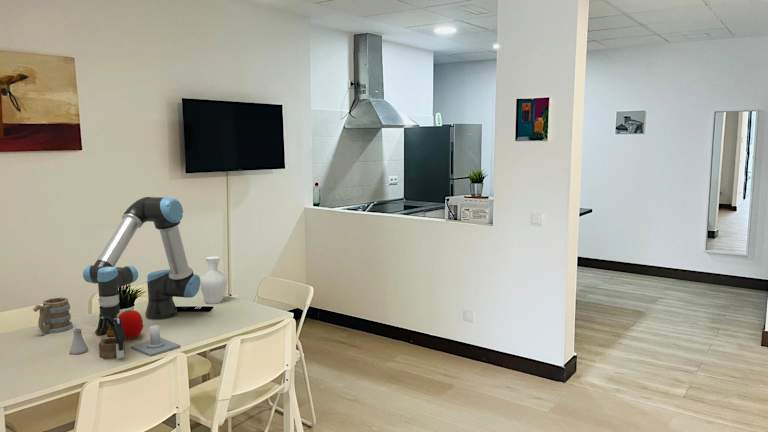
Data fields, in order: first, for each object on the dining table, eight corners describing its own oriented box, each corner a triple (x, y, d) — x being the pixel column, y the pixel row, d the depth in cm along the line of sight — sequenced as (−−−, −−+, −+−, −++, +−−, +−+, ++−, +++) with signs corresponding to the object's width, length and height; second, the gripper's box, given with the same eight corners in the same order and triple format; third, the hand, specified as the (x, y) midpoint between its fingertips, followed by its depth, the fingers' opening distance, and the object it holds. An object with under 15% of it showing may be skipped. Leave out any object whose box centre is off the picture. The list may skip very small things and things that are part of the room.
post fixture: (130, 348, 252) (129, 326, 251) (160, 339, 263) (159, 319, 262) (150, 356, 242) (149, 334, 241) (180, 347, 253) (179, 326, 252)
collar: (96, 355, 243) (95, 341, 243) (117, 349, 250) (116, 336, 249) (107, 360, 238) (106, 346, 237) (128, 354, 245) (127, 340, 244)
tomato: (140, 341, 261) (138, 313, 259) (114, 342, 259) (112, 314, 258) (146, 332, 272) (144, 306, 270) (121, 334, 270) (120, 307, 269)
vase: (212, 306, 314) (211, 261, 311) (195, 302, 322) (193, 258, 318) (233, 300, 326) (231, 256, 322) (215, 296, 334) (214, 254, 330)
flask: (75, 348, 252) (73, 326, 250) (91, 348, 251) (90, 326, 250) (65, 354, 244) (64, 331, 243) (82, 355, 244) (81, 332, 243)
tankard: (56, 323, 285) (53, 294, 283) (78, 325, 282) (76, 295, 280) (23, 337, 265) (20, 305, 263) (47, 339, 263) (44, 307, 261)
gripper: (86, 301, 246) (89, 349, 249) (115, 312, 231) (118, 363, 233) (103, 297, 252) (106, 344, 254) (133, 308, 236) (136, 358, 239)
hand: (112, 354), depth 244 cm, fingers open, 13 cm apart
